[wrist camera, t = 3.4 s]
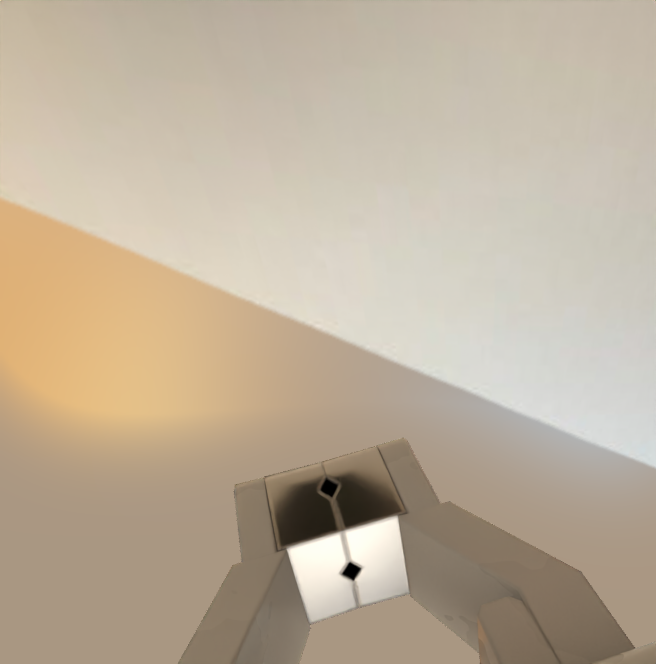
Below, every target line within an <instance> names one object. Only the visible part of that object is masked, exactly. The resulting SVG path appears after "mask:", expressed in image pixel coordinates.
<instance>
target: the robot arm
mask: <svg viewBox="0 0 656 664" xmlns="http://www.w3.org/2000/svg"><path fill="white" fill-rule="evenodd" d="M234 498H235V507H236V515H237V525H238V533H239V543H240V552H241V561H242V562H241V563H238V564H235V565H233V566H232V567H231V569H230V571H229V573H228V574H227V576H226V578H225V580H224V582H223V583H222V585H221V587H220V589H219V591H218V592H217V594H216V596H215V598H214V600H213V601H212V603H211V605H210V607H209V608H208V610H207V612H206V614H205V616H204V617H203V620H202V621H201V623H200V625H199V627H198V628H197V630H196V632H195V634H194V635H193V637H192V639H191V641H190V643H189V644H188V646H187V648H186V650H185V651H184V653H183V655H182V657H181V659H180V660H179V662H178V664H299V663H300V660H301V657H302V654H303V650H304V647H305V644H306V641H307V638H308V635H309V631H310V625H311V624H314V623H317V622H320V621H323V620H326V619H329V618H332V617H335V616H338V615H341V614H344V613H347V612H349V611H353V610H356V609H358V608H362V607H366V606H369V605H373V604H376V603H380V602H383V601H387V600H390V599H394V598H398V597H401V596H405V595H408V594H410V596H411V597H412V598H413V599H414V600H415V601H416V602H418V603H419V604H420V605H421V606H422V607H424V608H425V609H426V610H427V611H428V612H430V613H431V614H432V615H433V616H435V617H436V618H437V619H438V620H439V621H440V622H442V623H443V624H444V625H445V626H447V627H448V628H449V629H450V630H451V631H453V632H454V633H455V634H456V635H457V636H459V637H460V638H461V639H462V640H463V641H465V642H466V643H467V644H468V645H469V646H471V647H472V648H473V649H474V650H476V651H477V652H478V653H479V655H480V656H479V657H480V664H656V642H653V643H651V644H648V645H644V646H642V647H639V648H635V647H634V646H633V645H632V643H631V641H630V640H629V639H628V637H627V636H626V634H625V633H624V632H623V630H622V629H621V627H620V626H619V625H618V623H617V622H616V620H615V619H614V617H613V616H612V615H611V613H610V612H609V610H608V609H607V608H606V606H605V605H604V603H603V602H602V600H601V599H600V598H599V596H598V595H597V593H596V592H595V591H594V589H593V588H592V586H591V585H590V584H589V582H588V581H587V579H586V578H585V576H584V575H583V574H582V572H581V571H579V570H577V569H575V568H573V567H571V566H569V565H568V564H566V563H564V562H562V561H560V560H558V559H556V558H554V557H553V556H551V555H549V554H547V553H545V552H543V551H541V550H539V549H538V548H536V547H534V546H532V545H530V544H528V543H526V542H525V541H523V540H521V539H519V538H517V537H515V536H513V535H511V534H510V533H508V532H506V531H504V530H502V529H500V528H498V527H496V526H495V525H493V524H491V523H489V522H487V521H485V520H483V519H482V518H480V517H478V516H476V515H474V514H472V513H470V512H468V511H467V510H465V509H462V508H461V507H459V506H457V505H455V504H453V503H452V502H450V501H449V502H445V503H442V504H441V503H440V501H439V499H438V497H437V496H436V494H435V492H434V490H433V488H432V486H431V484H430V482H429V480H428V478H427V477H426V475H425V473H424V471H423V469H422V467H421V465H420V463H419V461H418V460H417V458H416V456H415V454H414V452H413V450H412V448H411V446H410V445H409V443H408V441H407V440H406V439H404V438H400V439H397V440H393V441H390V442H387V443H384V444H380V445H377V446H376V447H371V448H368V449H365V450H361V451H357V452H354V453H350V454H347V455H344V456H340V457H337V458H333V459H330V460H326V461H323V462H320V463H316V464H312V465H308V466H304V467H300V468H297V469H293V470H288V471H284V472H281V473H277V474H273V475H269V476H265V478H260V479H256V480H252V481H248V482H244V483H240V484H236V485H235V489H234Z"/></svg>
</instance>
